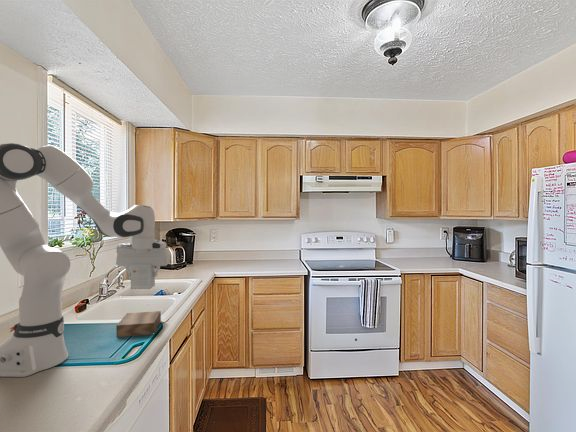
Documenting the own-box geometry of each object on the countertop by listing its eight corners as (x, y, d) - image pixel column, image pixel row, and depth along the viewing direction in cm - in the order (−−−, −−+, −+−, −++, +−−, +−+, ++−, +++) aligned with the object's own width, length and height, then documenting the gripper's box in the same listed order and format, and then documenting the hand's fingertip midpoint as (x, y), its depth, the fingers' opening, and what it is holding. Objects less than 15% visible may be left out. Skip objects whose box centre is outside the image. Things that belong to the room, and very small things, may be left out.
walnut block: (116, 337, 123) (116, 325, 123) (127, 324, 136) (126, 313, 136) (154, 334, 126) (154, 322, 126) (160, 322, 139) (160, 311, 139)
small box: (155, 286, 133) (155, 261, 132) (150, 289, 127) (150, 264, 127) (135, 286, 132) (136, 261, 132) (130, 289, 127) (130, 263, 126)
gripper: (113, 244, 125) (113, 278, 125) (166, 244, 128) (166, 277, 128) (119, 242, 131) (119, 275, 131) (170, 242, 134) (169, 274, 135)
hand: (143, 276), depth 130 cm, fingers closed on small box, 8 cm apart
